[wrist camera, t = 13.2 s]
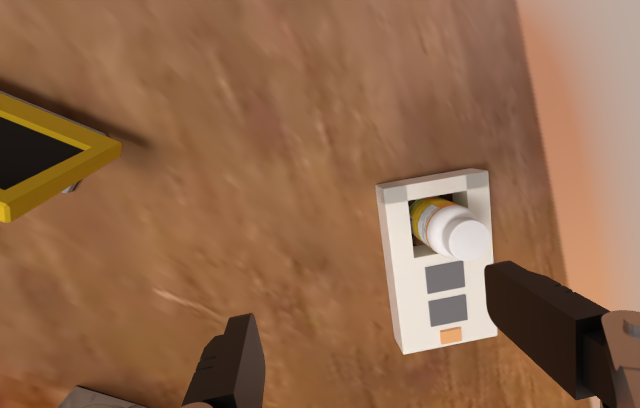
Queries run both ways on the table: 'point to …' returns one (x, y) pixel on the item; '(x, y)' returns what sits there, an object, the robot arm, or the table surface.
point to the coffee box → (93, 400)
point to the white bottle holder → (434, 265)
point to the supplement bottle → (448, 228)
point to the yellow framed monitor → (44, 155)
